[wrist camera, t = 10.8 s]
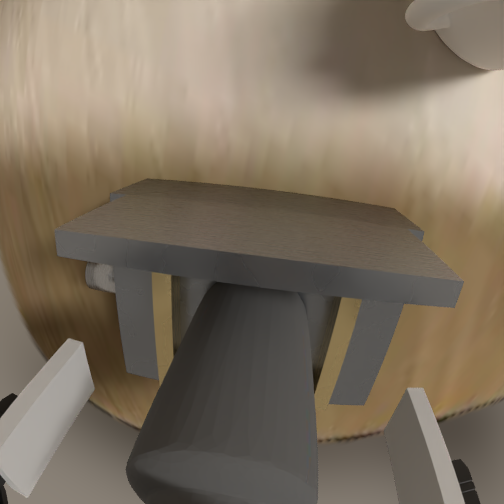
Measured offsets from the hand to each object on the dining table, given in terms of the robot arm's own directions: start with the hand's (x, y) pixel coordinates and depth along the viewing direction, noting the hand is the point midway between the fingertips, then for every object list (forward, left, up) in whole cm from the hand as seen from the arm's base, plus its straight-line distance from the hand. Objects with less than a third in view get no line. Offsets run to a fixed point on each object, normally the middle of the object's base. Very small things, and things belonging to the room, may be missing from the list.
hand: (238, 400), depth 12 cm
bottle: (0, 0, -6) cm, 6 cm away
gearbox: (0, -1, -11) cm, 11 cm away
